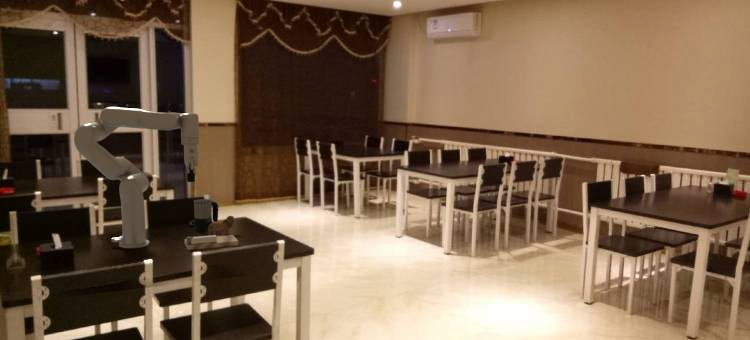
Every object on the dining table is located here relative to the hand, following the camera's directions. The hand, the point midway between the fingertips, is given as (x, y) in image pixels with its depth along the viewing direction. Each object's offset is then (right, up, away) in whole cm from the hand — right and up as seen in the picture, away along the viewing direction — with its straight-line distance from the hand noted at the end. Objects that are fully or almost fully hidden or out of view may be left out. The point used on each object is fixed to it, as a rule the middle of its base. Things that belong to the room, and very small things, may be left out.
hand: (190, 181), depth 255 cm
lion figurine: (+7, -27, +23) cm, 36 cm away
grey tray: (+8, -29, +5) cm, 30 cm away
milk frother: (-7, -25, +37) cm, 45 cm away
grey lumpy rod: (+5, -27, -1) cm, 28 cm away
